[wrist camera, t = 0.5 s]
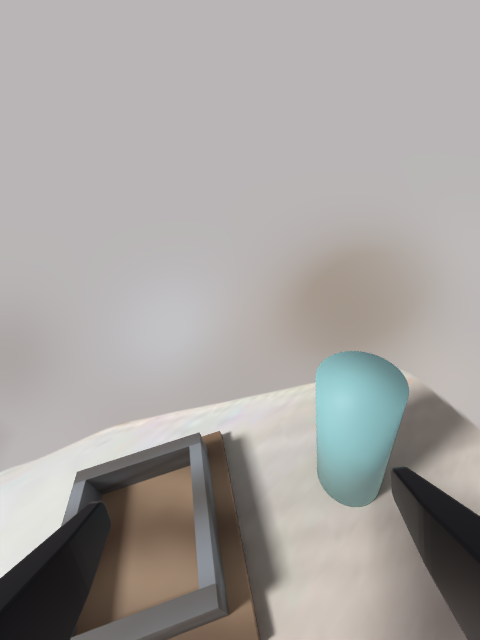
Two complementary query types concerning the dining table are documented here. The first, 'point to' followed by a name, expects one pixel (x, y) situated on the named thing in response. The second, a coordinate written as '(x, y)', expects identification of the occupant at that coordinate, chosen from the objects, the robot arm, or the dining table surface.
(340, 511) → the dining table surface
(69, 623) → the robot arm
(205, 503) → the brown and grey tray
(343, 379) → the post
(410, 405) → the dining table surface
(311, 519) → the dining table surface
